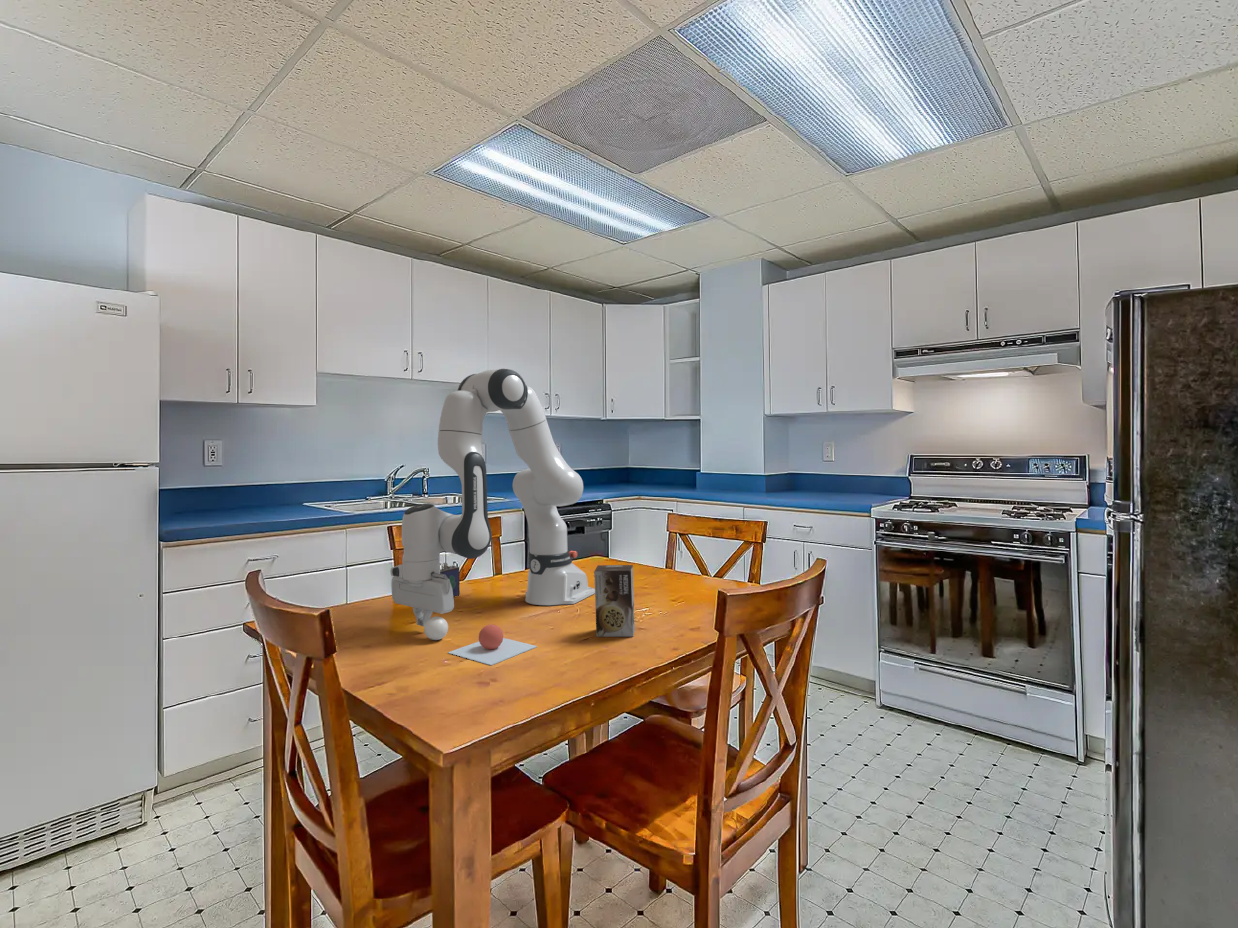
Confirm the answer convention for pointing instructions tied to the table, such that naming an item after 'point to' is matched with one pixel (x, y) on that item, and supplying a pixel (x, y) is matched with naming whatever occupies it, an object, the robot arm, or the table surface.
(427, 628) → the cue ball
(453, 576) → the flask
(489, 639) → the object ball
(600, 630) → the coffee box
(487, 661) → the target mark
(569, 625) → the table surface
